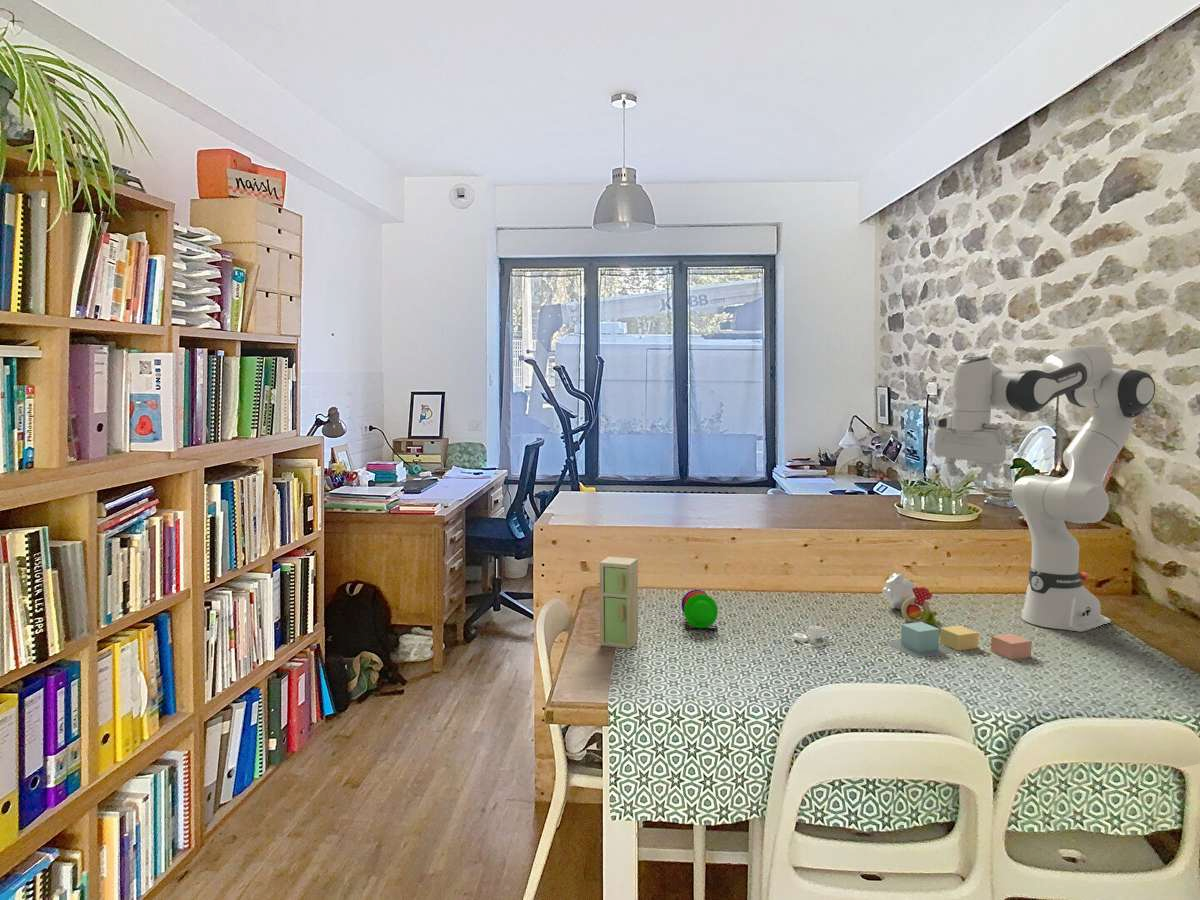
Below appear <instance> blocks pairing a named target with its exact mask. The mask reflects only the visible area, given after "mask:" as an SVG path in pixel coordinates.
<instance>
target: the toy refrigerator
mask: <svg viewBox="0 0 1200 900" xmlns="http://www.w3.org/2000/svg"><path fill="white" fill-rule="evenodd" d="M638 560H639V559H638V558H632V557H619V556H618V557H617V556H608V557H607V556H606V558H604V559H603V560H601V561H600V562H599V628H600V629H599V630H600V631H599V634H600V637H599V638H600V641H599V642H600V643H599V644H600V646H601V647H602V646H603V647H611V648H619V649H620V648H621V649H632V648H633V647H634V645H635V644H637V642H638V641H639V586H638V585H639V581H638V580H639V578H638V577H639V569H638V568H639V566H638V565H639V564H638V563H639V562H638Z"/></svg>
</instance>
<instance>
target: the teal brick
mask: <svg viewBox="0 0 1200 900" xmlns="http://www.w3.org/2000/svg"><path fill="white" fill-rule="evenodd" d="M900 640H901V645H903V646H905V647H907V648H910V649H912V650H914V651H916V652H925V651H932V650H938V649H939V644H940V628H937V627H935V626H933V625H932V624H931V625H930V624H929V623H927V622H924V623H923V622H916V623H912V622H908V623H903V624H901V628H900Z"/></svg>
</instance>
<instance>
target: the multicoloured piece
mask: <svg viewBox="0 0 1200 900" xmlns="http://www.w3.org/2000/svg"><path fill="white" fill-rule="evenodd" d="M681 610H682V612H683V613H684V619H686V621H687V623H688V624H684V628H691V629H692V628H697V629H718V626H717V625H712V624H714V622H715V621H716V619H718V615H719V614H718V612H719V611H718V610H719V609H718V605H717V602H716V601H715V600H714V598H713V597H711V596H710V595H708V594H707V593H706V592H705V591H703V590H699V589H693V590H690V591H688V592H687V593H685V595H684V596H683V598H682V599H681Z"/></svg>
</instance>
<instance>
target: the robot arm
mask: <svg viewBox="0 0 1200 900" xmlns="http://www.w3.org/2000/svg"><path fill="white" fill-rule="evenodd" d="M1113 364H1114V359H1113V356H1112V354H1111V352H1110V351H1109V350H1108V349H1107V348H1105V347H1104V346H1102V345H1099V344H1082V345H1075V346H1071V347H1067V348H1063V349H1060V350H1057V351H1055V352H1053V353H1051V354H1049V355H1047V356H1046V357H1045V358H1044V360H1043V362H1042V365H1041V370H1038V369H1030V370H1029V369H1027V370H1003V369H1002V368H999V367H998V366H996V365H995V364H993V362H992V360H991V358H990V357H988V356H984V355H983V356H982V355H980V356H978V355H977V356H970V357H964V358H962V359H960V360H959V361H958V362H957V363H956V367H955V369H954V374H953V382H952V395H953V396H952V397H953V404H952V407H951V414H949V415H946V416H944V417H941V418H938V419H936V421H935V427H936V428H937V429H936V431H935V436H934V446H933V447H934V453H935V455H936V456H937V457H943V458H945V463H946V466H947V469H948V476H950V477H958V476H959V473H960V472H959V468H957V465H956V463H957V460H964V461H971V462H977V463H980V467H981V469H980V472H978V473H977V475H976V480H977V481H979V482H980V481H981V482H987V481H988V474H989V473H990V472H991V469H992V468H993V465H1000V464H1001V465H1003V464H1004V462H1006V458H1007V451H1006V449H1007V447H1006V439H1005V431H1004V430H1003V428H1002V427H1001V426H1000V425H999V424H991V413H992V411H991V410H993V409H995V410H1005V411H1006V410H1008V411H1009V410H1010V411H1019V412H1027V413H1036V412H1039V411H1040V410H1042V409H1043V408H1045V407H1046V406H1047V405H1048V404H1049V403H1050V402H1052V401H1053V400H1054V399H1056V398H1057V397H1059V396H1060V397H1061V396H1063V395H1065V397H1066V399H1067V400H1068V402H1069V403H1070V404H1072V405H1074V406H1077V407H1079V408H1091V409H1093V411H1092V415H1091V417H1090V418H1089V419H1087V421H1086V422H1085V423H1084V424H1083V425H1082V427H1081V428H1080V430H1078V432H1077V433H1076V434H1075V436H1074V438H1072V440H1071V441H1070V442H1069V444H1068V445H1067V447H1066V448H1065V450H1064V451H1063V453H1062V462H1063V464H1064V466H1065V468H1066V469H1067V470H1068V471H1067V473H1066V474H1065V475H1064V476H1063V477H1056V476H1049V475H1044V474H1043V475H1041V474H1035V475H1025V476H1022V477H1020V478H1019V479H1017V480H1016V481H1015V483H1014V485H1013V487H1012V491H1011V499H1012V502H1013V504H1014V505H1015V507H1016V508H1017V509H1018V510H1019V511H1020V512H1021V514H1022V515H1023V517H1024V519H1025V521H1026V523H1027V526H1028V527H1027V528H1028V529H1029V533H1030V539H1031V563H1030V567H1029V570H1028V581H1029V584H1028V585H1027V587H1026V588H1027V589H1026V592H1025V597H1024V604H1023V608H1021V611H1020V613H1021V619H1022V620H1023V621H1025V622H1027V623H1029V624H1031V625H1034V626H1035V625H1036V626H1038V627H1043V628H1049V629H1055V630H1056V629H1057V630H1066V631H1072V632H1073V631H1075V632H1079V633H1080V632H1081V633H1082V632H1085V631H1086V632H1087V631H1090V630H1092V628H1093V629H1096V627H1097V628H1099V627H1098V626H1100V627H1102V626H1101V625H1103V624H1107V623H1110V622H1111V619H1110V618H1108V617H1107V616H1105V615H1102V614H1101V609H1102V608H1101V602H1100V599H1098V597H1096V596H1095V595H1094V594H1093V593H1091V591H1090V590H1088V589H1087V588H1086V587H1085V586H1084V585H1083V581H1082V580H1084V581H1086V582H1087V581H1089V580H1090V579H1091V574H1090V573H1088V572H1084V571H1081V572H1079V564H1080V563H1079V562H1080V544H1079V542H1078V539H1077V538H1076V537H1074V535H1073V534H1072V533H1070V532H1069V530H1068V528H1067V525H1066V522H1070V523H1075V524H1096V523H1099V522H1101V520H1103V519H1104V518H1105V517H1106V515H1107V513H1108V511H1109V509H1110V498H1109V495H1108V493H1107V491H1106V490H1105V488H1104V485H1103V484H1104V478H1105V476H1106V474H1107V472H1108V471H1109V468H1111V465H1112V464H1113V463H1114V461H1115V459H1116V458H1117V457H1118V456H1119V454H1120V452H1121V450H1122V449H1123V448H1124V446H1125V444H1126V442H1127V440H1128V439H1129V437H1130V433H1131V432H1132V429H1133V419H1132V418H1135V417H1137V416H1139V415H1141V413H1142V412H1143V411H1144V410H1145V409H1147V407H1148V406H1149V405H1150V403H1151V402H1152V401H1153V399H1154V397H1155V393H1156V384H1155V381H1154V379H1153V376H1151V374H1150V373H1147V372H1146V371H1142V370H1139V369H1124V368H1113ZM955 462H956V463H955ZM1111 623H1112V622H1111ZM1111 623H1110V624H1111ZM1107 625H1108V624H1107ZM1103 626H1104V625H1103Z"/></svg>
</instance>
